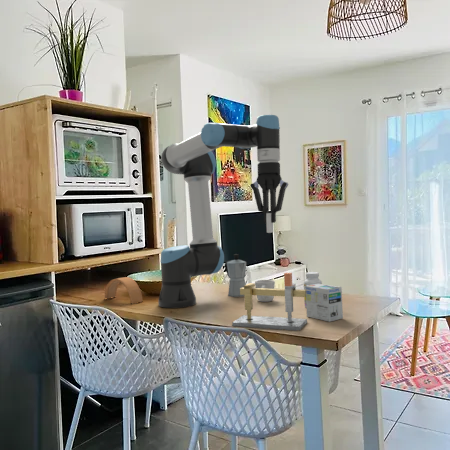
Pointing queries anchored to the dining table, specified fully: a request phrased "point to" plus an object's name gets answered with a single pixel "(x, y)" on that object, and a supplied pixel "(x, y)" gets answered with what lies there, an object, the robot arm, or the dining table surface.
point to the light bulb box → (324, 302)
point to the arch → (130, 286)
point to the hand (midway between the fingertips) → (270, 232)
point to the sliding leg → (289, 294)
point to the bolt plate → (270, 322)
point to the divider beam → (264, 294)
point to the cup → (265, 284)
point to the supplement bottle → (311, 280)
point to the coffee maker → (235, 275)
